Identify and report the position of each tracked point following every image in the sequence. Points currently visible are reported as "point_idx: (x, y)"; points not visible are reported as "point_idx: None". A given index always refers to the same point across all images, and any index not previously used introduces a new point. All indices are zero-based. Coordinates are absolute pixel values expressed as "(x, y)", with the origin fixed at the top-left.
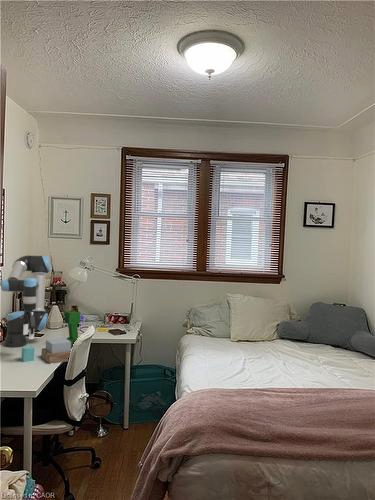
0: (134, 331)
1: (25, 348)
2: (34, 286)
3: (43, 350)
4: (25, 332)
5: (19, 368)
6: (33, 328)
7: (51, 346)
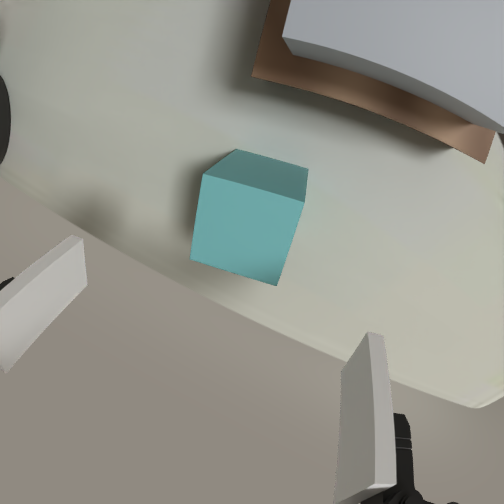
0: None
1: (254, 264)
2: None
3: (313, 91)
4: (69, 280)
5: (374, 309)
6: (415, 498)
7: (489, 123)
